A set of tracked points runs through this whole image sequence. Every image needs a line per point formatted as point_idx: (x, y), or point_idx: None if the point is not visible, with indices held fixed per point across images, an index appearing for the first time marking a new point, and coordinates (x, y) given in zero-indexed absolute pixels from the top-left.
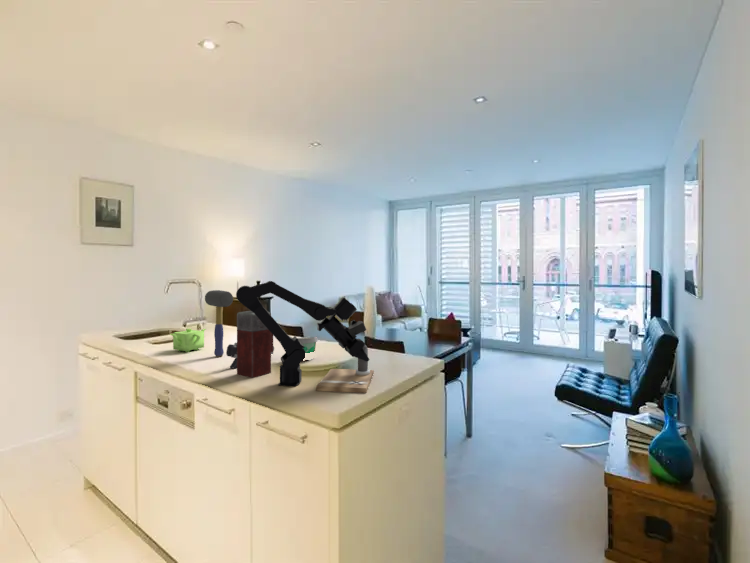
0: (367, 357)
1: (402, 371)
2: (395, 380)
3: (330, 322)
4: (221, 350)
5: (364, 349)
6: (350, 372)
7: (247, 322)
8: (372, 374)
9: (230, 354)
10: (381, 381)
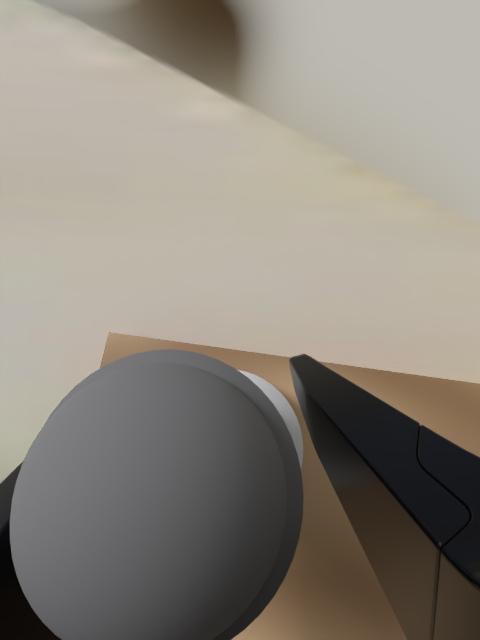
0: (338, 382)
1: (69, 131)
2: (310, 188)
3: None
4: None
5: (278, 446)
6: None
7: None
8: (220, 349)
9: None
10: (342, 287)
